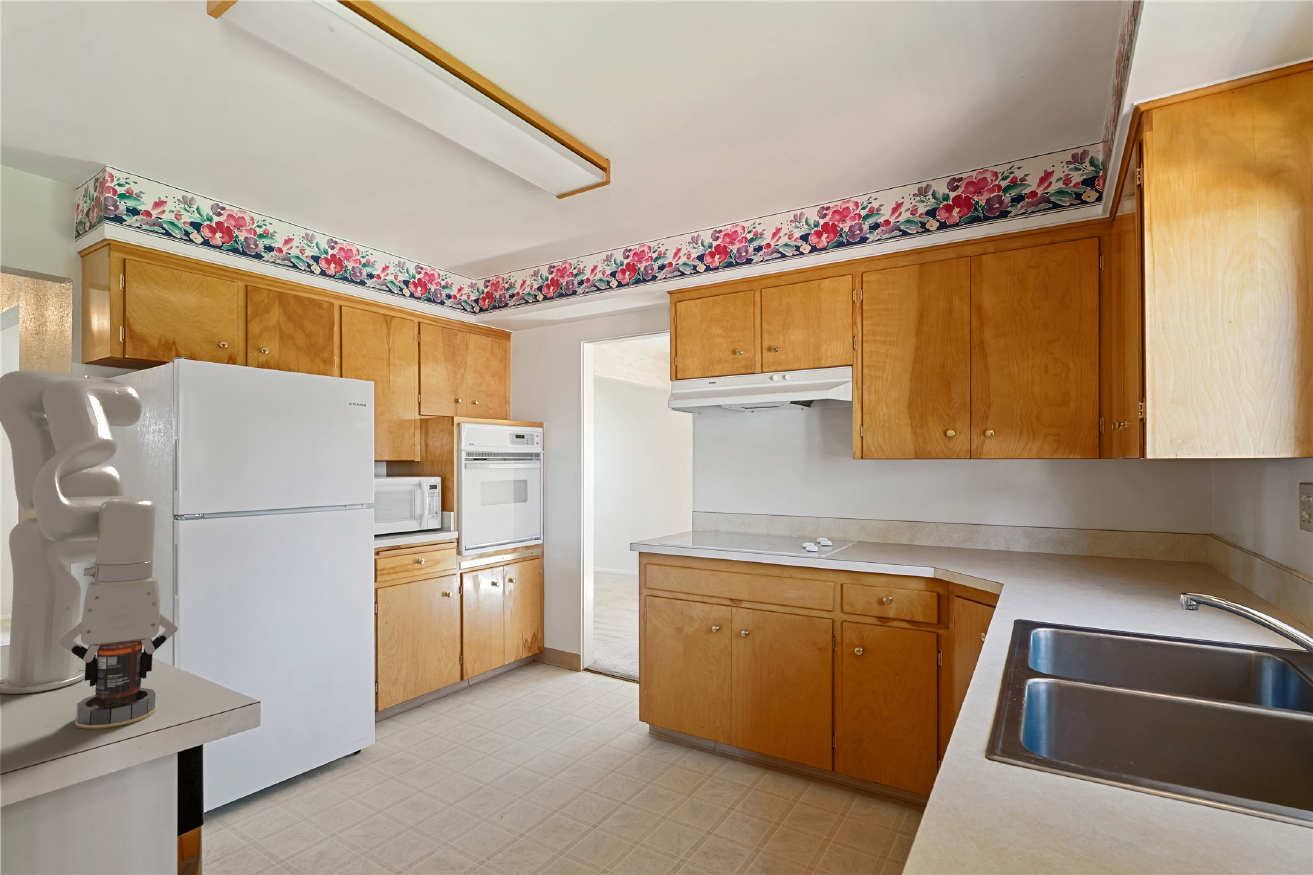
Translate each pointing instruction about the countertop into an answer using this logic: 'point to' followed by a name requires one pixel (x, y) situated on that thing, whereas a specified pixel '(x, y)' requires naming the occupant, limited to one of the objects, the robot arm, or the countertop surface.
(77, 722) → the mount collar
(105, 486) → the robot arm
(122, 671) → the supplement bottle
